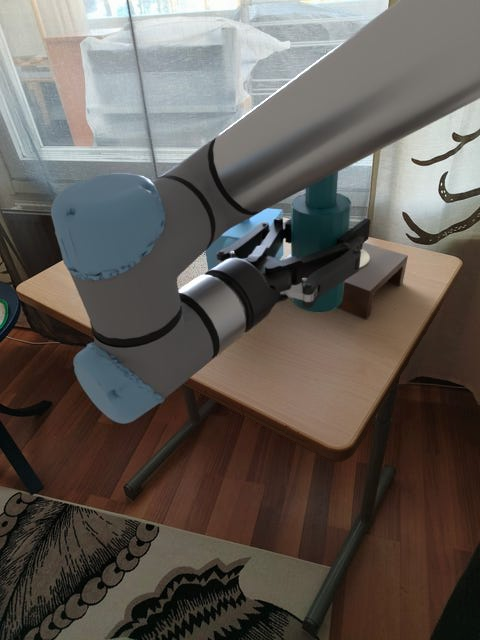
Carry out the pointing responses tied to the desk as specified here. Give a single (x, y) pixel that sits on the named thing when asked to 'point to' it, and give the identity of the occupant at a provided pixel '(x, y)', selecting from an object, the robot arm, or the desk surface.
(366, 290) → the dark brown wooden block
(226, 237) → the teapot
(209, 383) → the desk surface
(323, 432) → the desk surface
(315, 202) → the bottle
